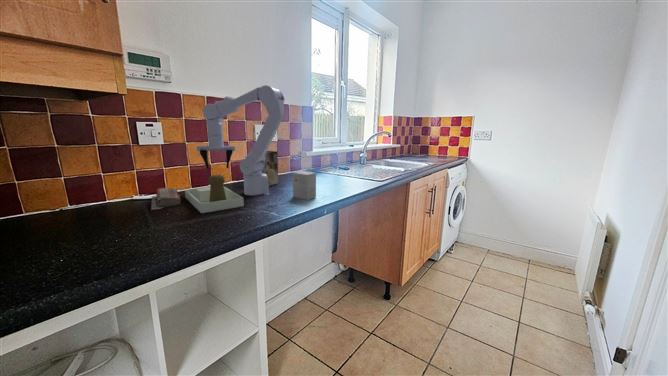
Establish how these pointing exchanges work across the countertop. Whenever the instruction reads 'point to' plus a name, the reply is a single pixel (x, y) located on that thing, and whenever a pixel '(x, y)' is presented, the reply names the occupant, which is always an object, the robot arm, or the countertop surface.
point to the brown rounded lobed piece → (217, 188)
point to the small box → (304, 185)
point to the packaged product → (165, 198)
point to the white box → (203, 194)
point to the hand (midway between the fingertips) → (217, 168)
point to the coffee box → (271, 167)
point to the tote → (203, 207)
